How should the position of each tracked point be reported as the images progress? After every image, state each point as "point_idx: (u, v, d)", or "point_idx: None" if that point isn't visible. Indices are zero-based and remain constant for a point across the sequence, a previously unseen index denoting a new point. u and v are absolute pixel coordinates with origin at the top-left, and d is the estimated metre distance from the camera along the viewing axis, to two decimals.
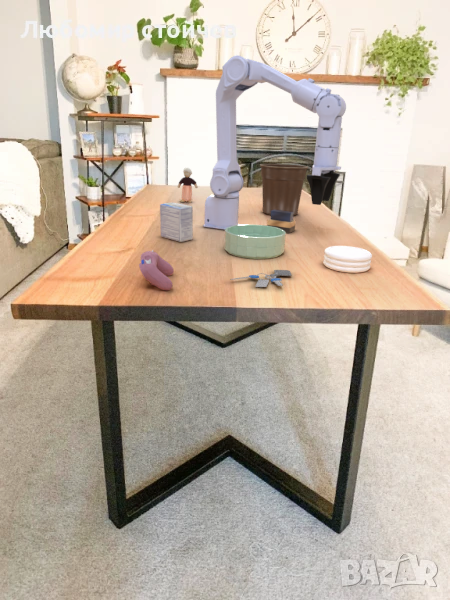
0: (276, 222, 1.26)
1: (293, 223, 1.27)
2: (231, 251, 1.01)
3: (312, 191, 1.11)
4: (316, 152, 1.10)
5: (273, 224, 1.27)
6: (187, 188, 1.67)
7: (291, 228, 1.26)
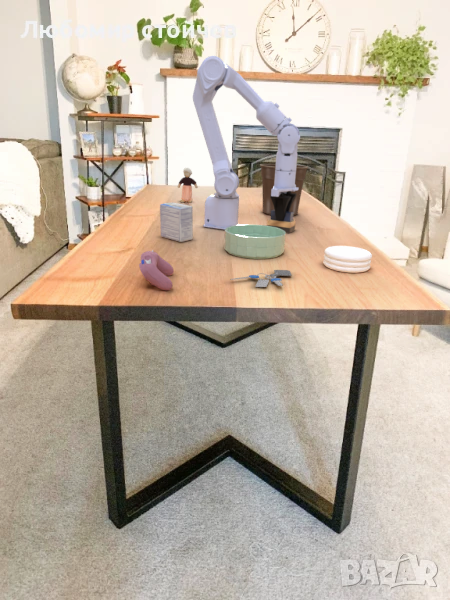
0: (276, 222, 1.26)
1: (293, 223, 1.27)
2: (231, 251, 1.01)
3: (275, 208, 1.25)
4: (276, 175, 1.22)
5: (273, 224, 1.27)
6: (187, 188, 1.67)
7: (291, 228, 1.26)
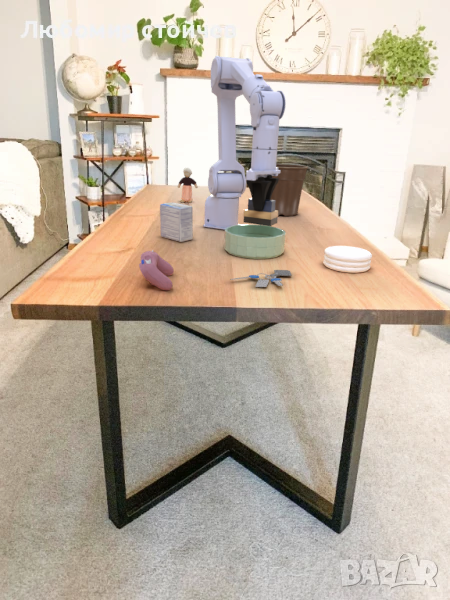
0: (254, 213, 1.04)
1: (275, 214, 1.04)
2: (231, 251, 1.01)
3: (253, 196, 1.03)
4: (252, 154, 1.00)
5: (251, 215, 1.04)
6: (187, 188, 1.67)
7: (273, 220, 1.04)
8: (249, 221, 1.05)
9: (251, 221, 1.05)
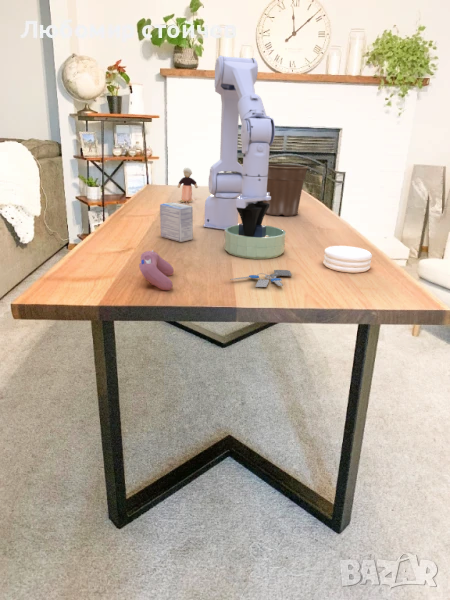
0: None
1: None
2: (231, 251, 1.01)
3: (243, 222, 1.02)
4: (243, 181, 0.99)
5: None
6: (187, 188, 1.67)
7: None
8: None
9: None
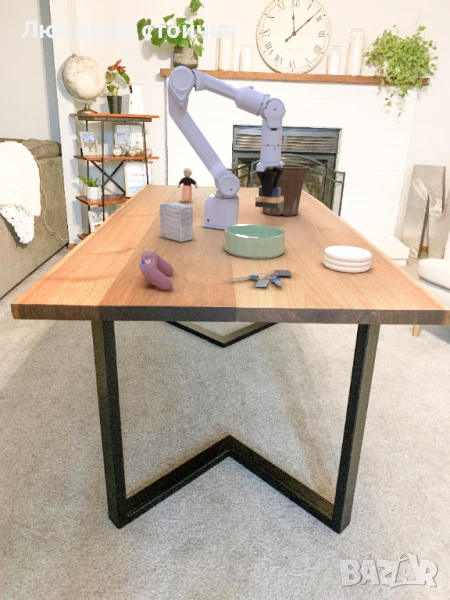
0: (264, 198, 1.26)
1: (281, 199, 1.27)
2: (231, 251, 1.01)
3: (262, 184, 1.25)
4: (261, 150, 1.22)
5: (261, 200, 1.27)
6: (187, 188, 1.67)
7: (279, 204, 1.26)
8: (260, 205, 1.28)
9: (261, 205, 1.27)
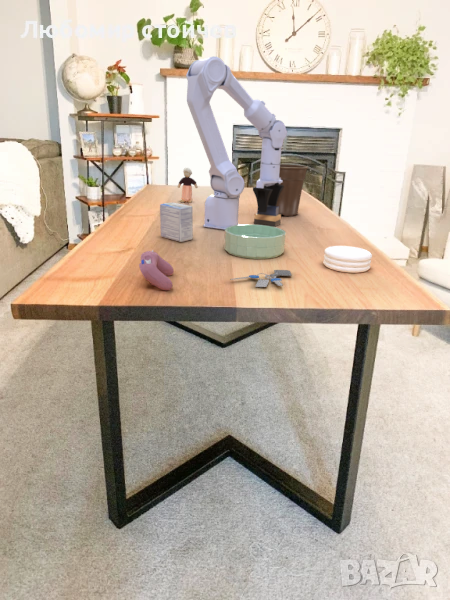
0: (262, 216, 1.34)
1: (278, 217, 1.35)
2: (231, 251, 1.01)
3: (258, 201, 1.30)
4: (261, 168, 1.30)
5: (260, 218, 1.34)
6: (187, 188, 1.67)
7: (277, 222, 1.34)
8: (258, 222, 1.35)
9: (260, 222, 1.35)
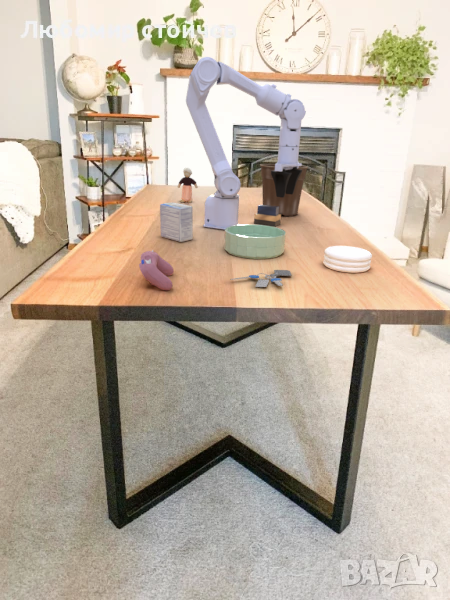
0: (262, 216, 1.34)
1: (278, 217, 1.35)
2: (231, 251, 1.01)
3: (276, 185, 1.24)
4: (279, 150, 1.24)
5: (260, 218, 1.34)
6: (187, 188, 1.67)
7: (277, 222, 1.34)
8: (258, 222, 1.35)
9: (260, 222, 1.35)
